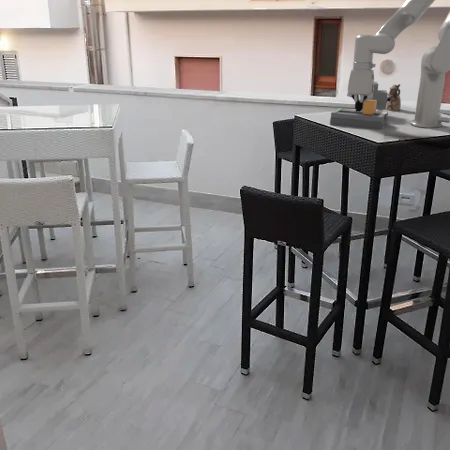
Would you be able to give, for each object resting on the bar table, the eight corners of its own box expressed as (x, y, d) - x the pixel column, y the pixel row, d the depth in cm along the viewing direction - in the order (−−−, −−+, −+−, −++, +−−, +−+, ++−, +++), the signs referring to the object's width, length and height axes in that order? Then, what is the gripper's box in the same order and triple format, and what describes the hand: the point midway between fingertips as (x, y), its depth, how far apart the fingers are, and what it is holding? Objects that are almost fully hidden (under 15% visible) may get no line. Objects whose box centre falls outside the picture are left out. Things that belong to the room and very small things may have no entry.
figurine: (382, 108, 243) (385, 83, 238) (394, 107, 245) (398, 83, 240) (389, 111, 237) (392, 85, 232) (402, 110, 238) (406, 85, 233)
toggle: (375, 116, 211) (377, 100, 208) (371, 119, 206) (373, 102, 203) (365, 116, 212) (367, 99, 210) (362, 118, 208) (364, 101, 205)
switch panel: (387, 124, 212) (388, 111, 210) (381, 129, 203) (382, 116, 201) (337, 119, 222) (338, 107, 219) (329, 124, 213) (330, 112, 211)
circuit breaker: (388, 118, 223) (392, 84, 217) (356, 117, 226) (359, 83, 220) (387, 114, 230) (390, 81, 224) (355, 114, 232) (358, 81, 226)
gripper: (382, 66, 202) (378, 110, 210) (347, 65, 209) (343, 108, 217) (378, 68, 196) (373, 114, 204) (342, 66, 203) (338, 111, 211)
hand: (358, 110), depth 210 cm, fingers closed
